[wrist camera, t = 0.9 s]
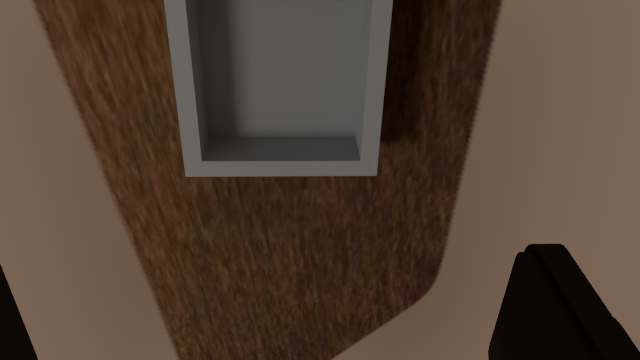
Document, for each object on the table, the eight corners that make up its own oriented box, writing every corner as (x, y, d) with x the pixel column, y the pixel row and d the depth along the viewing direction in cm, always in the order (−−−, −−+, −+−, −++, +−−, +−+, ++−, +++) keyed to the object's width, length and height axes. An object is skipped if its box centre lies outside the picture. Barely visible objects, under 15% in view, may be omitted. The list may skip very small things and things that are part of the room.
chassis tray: (176, -41, 28) (160, -27, 25) (382, -37, 29) (395, -23, 25) (195, 144, 34) (185, 176, 30) (367, 144, 34) (376, 175, 31)
